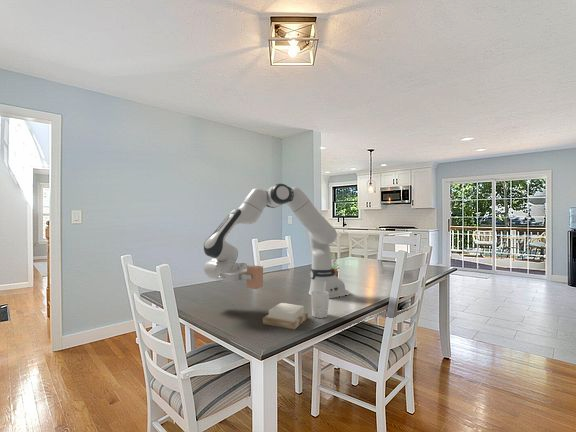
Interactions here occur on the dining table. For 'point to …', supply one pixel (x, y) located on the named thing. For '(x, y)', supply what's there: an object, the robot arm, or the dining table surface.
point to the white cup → (320, 303)
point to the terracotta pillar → (255, 277)
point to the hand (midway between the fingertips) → (256, 275)
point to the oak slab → (285, 323)
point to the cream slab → (286, 312)
